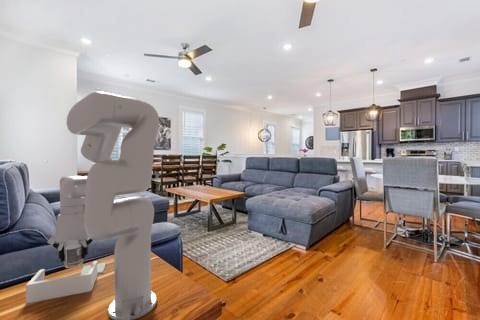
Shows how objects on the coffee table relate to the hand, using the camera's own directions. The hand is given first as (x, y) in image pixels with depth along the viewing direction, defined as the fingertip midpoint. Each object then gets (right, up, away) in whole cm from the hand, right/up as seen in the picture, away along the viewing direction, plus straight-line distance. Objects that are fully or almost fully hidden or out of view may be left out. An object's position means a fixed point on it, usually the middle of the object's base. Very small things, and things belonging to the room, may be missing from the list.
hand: (73, 258), depth 84 cm
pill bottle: (0, -3, 0) cm, 3 cm away
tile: (+5, -6, +3) cm, 8 cm away
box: (+4, -6, -9) cm, 11 cm away
